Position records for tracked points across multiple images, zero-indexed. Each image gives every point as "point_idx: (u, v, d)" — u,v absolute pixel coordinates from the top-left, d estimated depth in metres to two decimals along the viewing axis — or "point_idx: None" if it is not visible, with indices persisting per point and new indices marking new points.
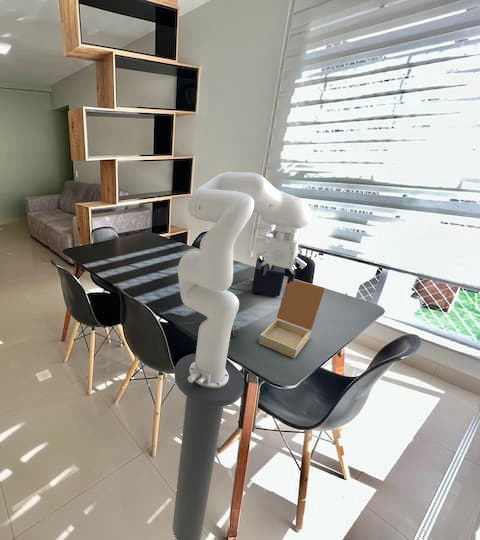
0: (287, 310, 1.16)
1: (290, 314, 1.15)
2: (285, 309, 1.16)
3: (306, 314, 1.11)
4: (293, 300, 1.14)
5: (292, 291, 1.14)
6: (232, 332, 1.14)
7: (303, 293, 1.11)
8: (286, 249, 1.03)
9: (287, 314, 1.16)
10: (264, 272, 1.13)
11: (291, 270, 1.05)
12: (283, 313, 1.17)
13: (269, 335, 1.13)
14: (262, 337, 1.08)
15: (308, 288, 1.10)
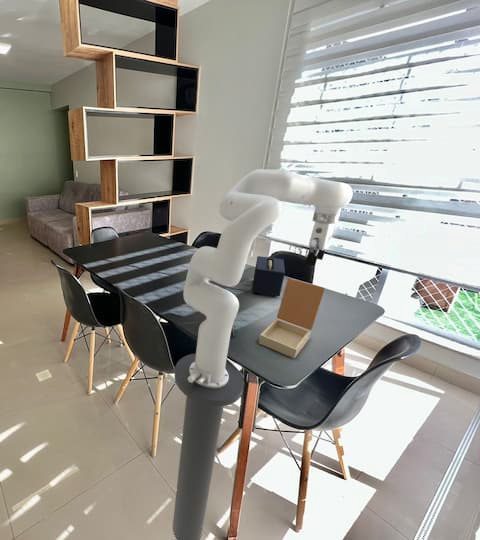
0: (287, 310, 1.16)
1: (290, 314, 1.15)
2: (285, 309, 1.16)
3: (306, 314, 1.11)
4: (293, 300, 1.14)
5: (292, 291, 1.14)
6: (232, 332, 1.14)
7: (303, 293, 1.11)
8: (332, 229, 1.05)
9: (287, 314, 1.16)
10: None
11: None
12: (283, 313, 1.17)
13: (269, 335, 1.13)
14: (262, 337, 1.08)
15: (308, 288, 1.10)
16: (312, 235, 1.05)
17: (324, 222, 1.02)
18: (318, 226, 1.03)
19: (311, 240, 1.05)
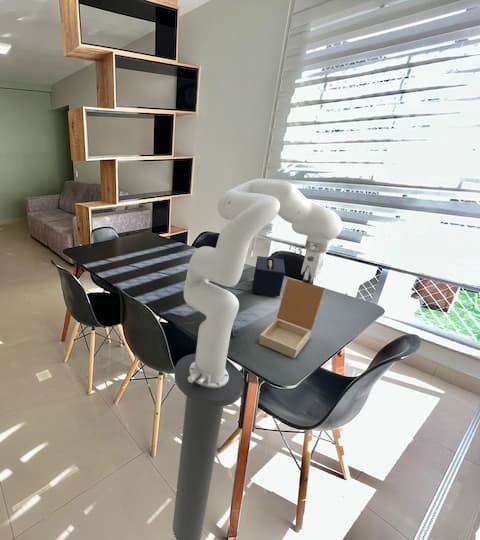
0: (287, 310, 1.16)
1: (290, 314, 1.15)
2: (285, 309, 1.16)
3: (306, 314, 1.11)
4: (293, 300, 1.14)
5: (292, 291, 1.14)
6: (232, 332, 1.14)
7: (302, 293, 1.11)
8: (324, 256, 1.08)
9: (287, 314, 1.16)
10: None
11: (313, 278, 1.11)
12: (283, 313, 1.17)
13: (269, 335, 1.13)
14: (262, 337, 1.08)
15: (308, 288, 1.09)
16: (304, 263, 1.07)
17: (316, 251, 1.04)
18: (310, 254, 1.05)
19: (303, 268, 1.07)
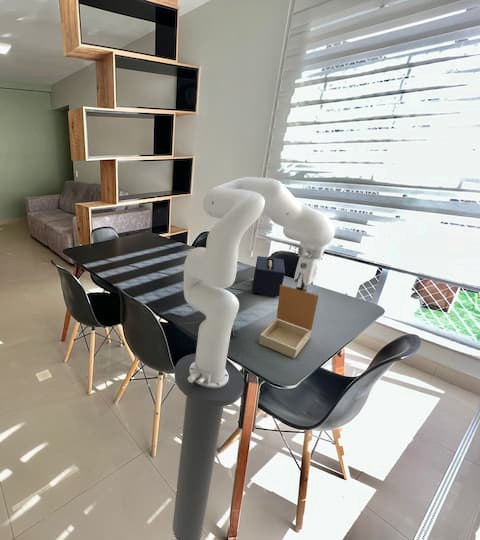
0: (285, 312, 1.15)
1: (289, 316, 1.14)
2: (283, 311, 1.15)
3: (304, 317, 1.09)
4: (289, 304, 1.11)
5: (286, 297, 1.10)
6: (232, 332, 1.14)
7: (297, 299, 1.08)
8: (318, 263, 1.03)
9: (286, 316, 1.15)
10: None
11: (306, 286, 1.06)
12: (282, 315, 1.16)
13: (269, 335, 1.13)
14: (262, 337, 1.08)
15: (302, 295, 1.05)
16: (297, 270, 1.02)
17: (309, 257, 1.00)
18: (303, 261, 1.01)
19: (296, 275, 1.03)
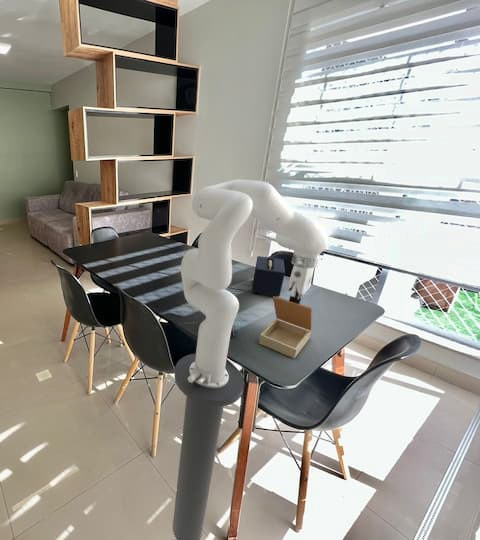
0: (283, 316, 1.14)
1: (287, 318, 1.14)
2: (281, 315, 1.14)
3: (302, 321, 1.09)
4: (285, 311, 1.10)
5: (281, 306, 1.08)
6: (232, 332, 1.14)
7: (292, 309, 1.06)
8: (312, 271, 1.01)
9: (284, 318, 1.15)
10: None
11: (300, 294, 1.04)
12: (281, 317, 1.16)
13: (269, 335, 1.13)
14: (262, 337, 1.08)
15: (295, 307, 1.03)
16: (291, 278, 1.00)
17: (303, 266, 0.97)
18: (297, 270, 0.98)
19: (290, 283, 1.00)
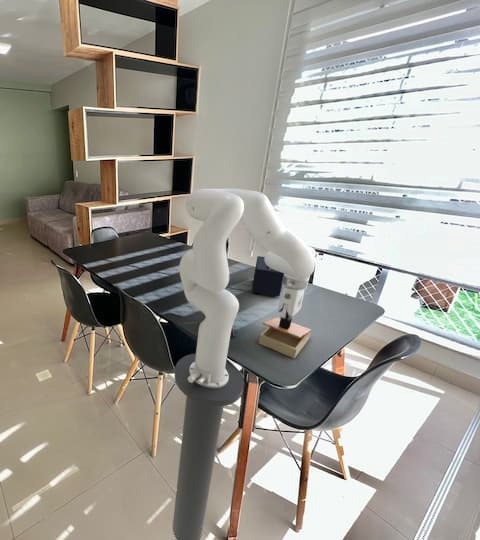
0: None
1: None
2: None
3: None
4: None
5: None
6: (232, 332, 1.14)
7: None
8: (303, 293, 0.99)
9: None
10: None
11: (291, 315, 1.03)
12: None
13: (269, 335, 1.13)
14: (262, 337, 1.08)
15: None
16: (281, 300, 0.99)
17: (293, 288, 0.96)
18: (287, 292, 0.97)
19: (280, 305, 0.99)
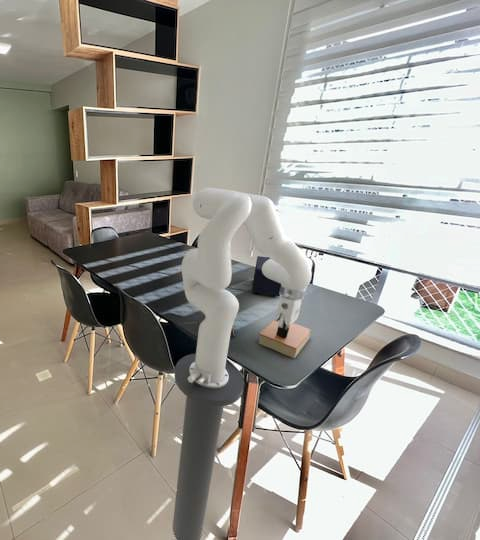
0: None
1: None
2: None
3: None
4: None
5: None
6: (232, 332, 1.14)
7: None
8: (300, 302, 1.00)
9: None
10: None
11: None
12: None
13: None
14: (262, 337, 1.08)
15: None
16: (278, 309, 1.00)
17: (290, 298, 0.97)
18: (284, 301, 0.98)
19: (277, 314, 1.00)
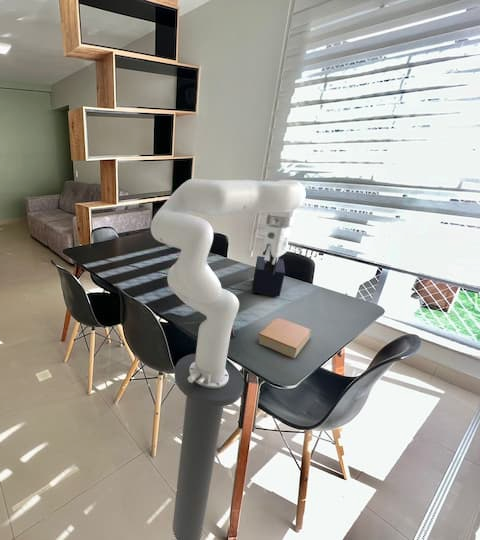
0: None
1: None
2: None
3: None
4: None
5: None
6: (232, 332, 1.14)
7: None
8: (288, 233, 0.93)
9: None
10: None
11: (276, 260, 0.96)
12: None
13: None
14: (262, 337, 1.08)
15: None
16: (264, 241, 0.92)
17: (277, 226, 0.89)
18: (270, 230, 0.90)
19: (264, 246, 0.93)
